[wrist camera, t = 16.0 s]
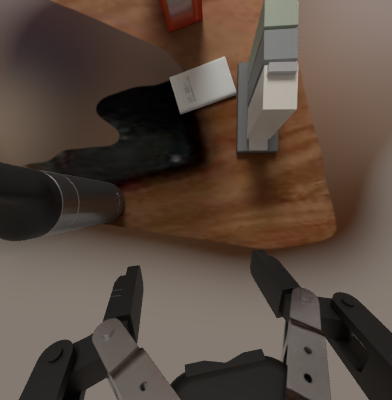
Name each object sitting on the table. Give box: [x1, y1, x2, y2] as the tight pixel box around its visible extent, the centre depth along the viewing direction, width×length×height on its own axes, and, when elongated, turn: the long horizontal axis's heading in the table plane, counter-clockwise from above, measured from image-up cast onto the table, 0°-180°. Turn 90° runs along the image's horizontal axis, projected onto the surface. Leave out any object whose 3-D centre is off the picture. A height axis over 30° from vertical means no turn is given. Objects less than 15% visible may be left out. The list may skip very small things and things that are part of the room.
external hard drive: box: [169, 57, 236, 114], centre depth 40 cm, size 2×8×12 cm
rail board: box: [236, 0, 299, 153], centre depth 32 cm, size 8×18×14 cm, turn 179°
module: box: [247, 61, 298, 139], centre depth 31 cm, size 5×6×13 cm
